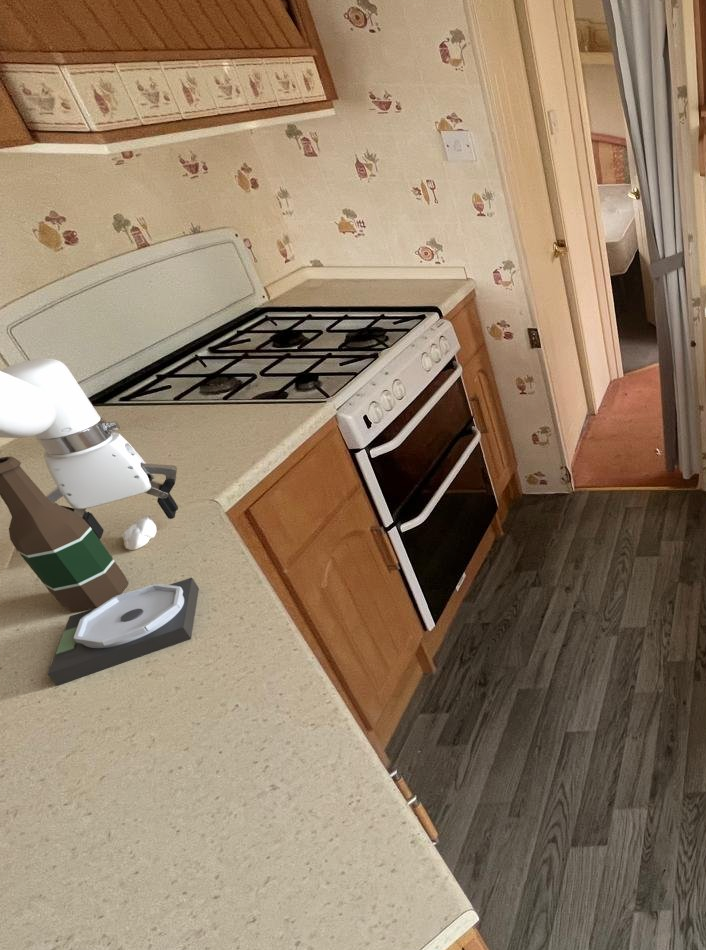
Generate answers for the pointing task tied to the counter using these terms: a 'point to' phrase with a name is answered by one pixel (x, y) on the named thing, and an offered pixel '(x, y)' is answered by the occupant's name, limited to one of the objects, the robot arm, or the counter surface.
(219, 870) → the counter surface
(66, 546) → the beer bottle
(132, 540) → the dumpling
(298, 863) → the counter surface
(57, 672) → the scale
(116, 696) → the counter surface
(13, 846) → the counter surface
